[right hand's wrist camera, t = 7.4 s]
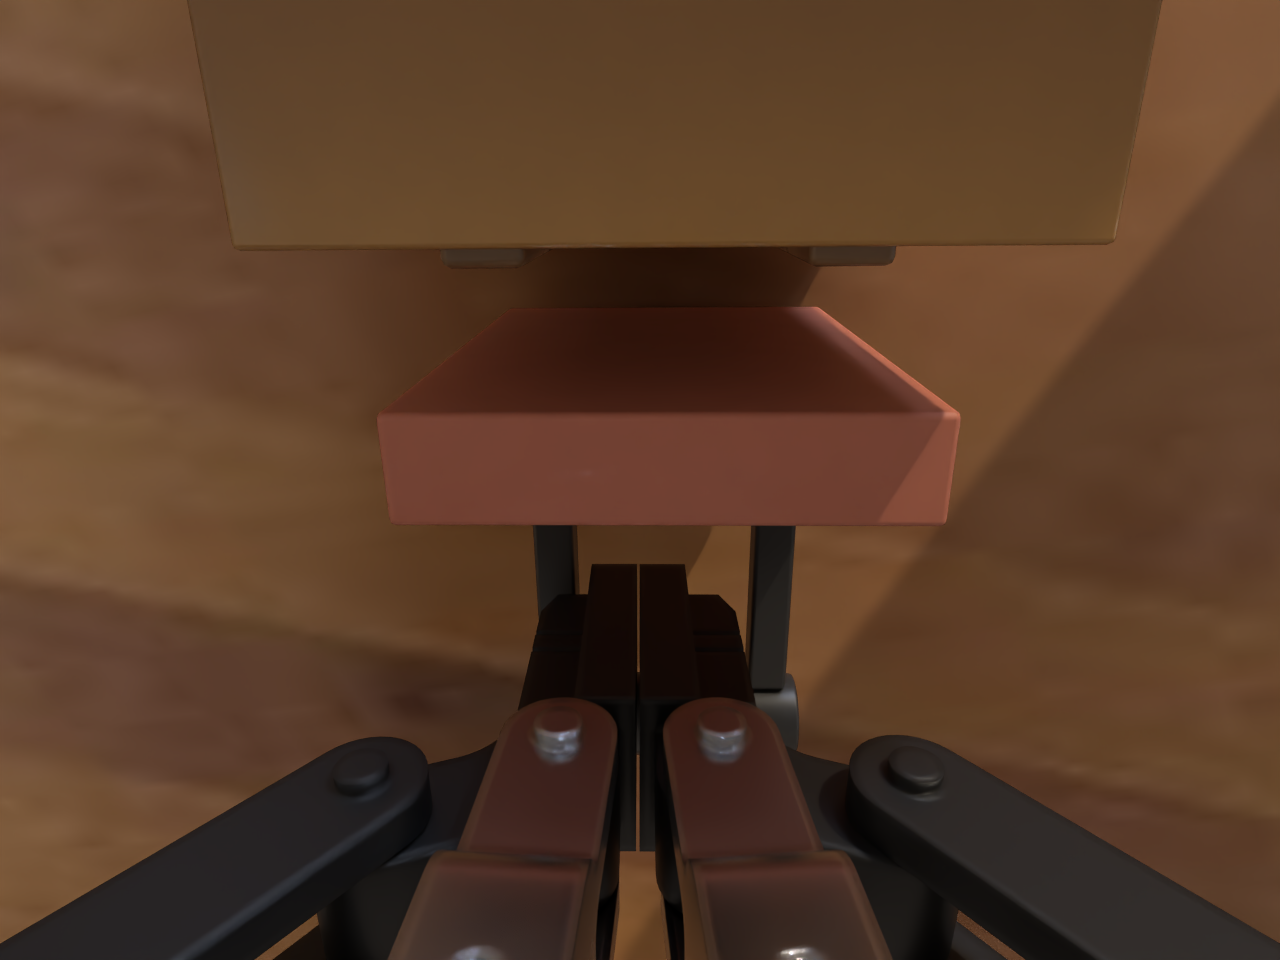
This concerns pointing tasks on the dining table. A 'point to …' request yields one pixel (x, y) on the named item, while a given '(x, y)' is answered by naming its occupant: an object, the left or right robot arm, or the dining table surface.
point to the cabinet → (672, 121)
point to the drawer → (672, 438)
